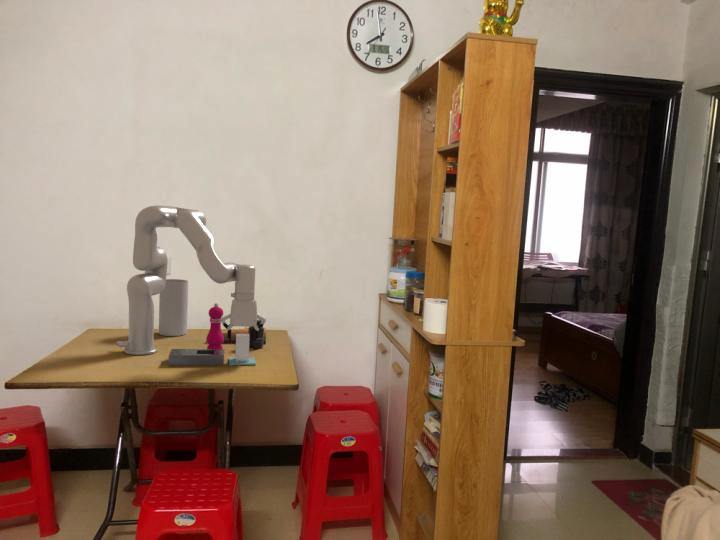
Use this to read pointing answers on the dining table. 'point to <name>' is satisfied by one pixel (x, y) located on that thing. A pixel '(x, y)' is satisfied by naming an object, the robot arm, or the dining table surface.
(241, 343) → the steel peg
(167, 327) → the cylinder vase
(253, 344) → the supplement bottle
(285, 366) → the dining table surface
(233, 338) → the pan flute
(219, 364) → the rail
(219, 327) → the pepper mill
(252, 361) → the teal mat
